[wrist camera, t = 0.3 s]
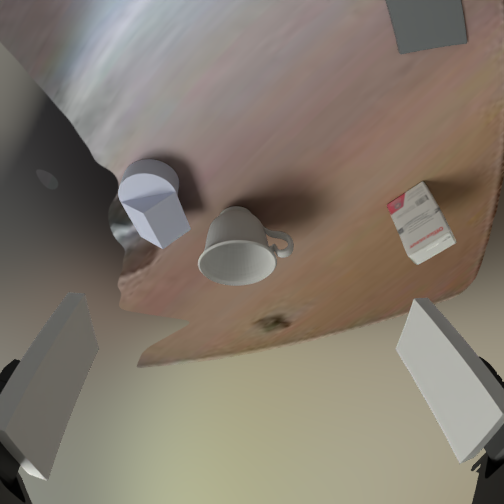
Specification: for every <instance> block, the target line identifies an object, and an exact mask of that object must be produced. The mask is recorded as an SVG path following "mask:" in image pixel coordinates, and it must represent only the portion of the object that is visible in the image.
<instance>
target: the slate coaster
mask: <svg viewBox="0 0 504 504" xmlns="http://www.w3.org/2000/svg"><path fill="white" fill-rule="evenodd" d="M386 4H387V7H388V10H389V14H390V18H391V21H392V25H393V29H394V33H395V37H396V41H397V46H398V50H399V53H400V54H405V53H410V52H415V51H420V50H426V49H432V48H438V47H444V46H451V45H458V44H466V43H467V38H466V29H465V22H464V16H463V10H462V4H461V0H386Z"/></svg>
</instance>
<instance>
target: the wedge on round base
mask: <svg viewBox="0 0 504 504" xmlns="http://www.w3.org/2000/svg"><path fill="white" fill-rule="evenodd" d="M178 189H179V179H178V176H177V174H176V172H175V171H174V170H173V169H172V168H171V167H170V166H169V165H167V164H166V163H164V162H161V161H158V160H153V159H143V160H139V161H136V162H134V163H132V164H131V165H129V166H128V167H127V169H126V170H125V172H124V175H123V178H122V181H121V184H120V187H119V190H118V196H119V199H120V201H121V203H122V205H123V207H124V209H125V210H126V212H127V214H128V216H129V217H130V219H131V221H132V222H133V224H134V226H135V227H136V229H137V231H138V233H139V234H140V236H141V237H143V238H144V239H146V240H148V241H150V242H151V243H153V244H155V245H157V246H158V247H160V248H162V249H164V248H165V247H167V246H168V245H169V244H171V243H172V242H174V241H175V240H176V239H178V238H179V237H181V236H182V235H183V234H185V233H186V232H188V231H189V230H191V228H190V226H189V223H188V221H187V219H186V216H185V214H184V211H183V209H182V206H181V204H180V201H179V199H178V196H177V195H178Z"/></svg>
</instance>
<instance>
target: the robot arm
mask: <svg viewBox="0 0 504 504" xmlns="http://www.w3.org/2000/svg"><path fill="white" fill-rule="evenodd" d="M98 350H99V347H98V343H97V340H96V336H95V333H94V329H93V325H92V321H91V317H90V313H89V309H88V304H87V300H86V296H85V294H81V293H70V292H69V293H68V294H67V295H66V297H65V298H64V299H63V301H62V302H61V303H60V305H59V306H58V307H57V309H56V310H55V311H54V313H53V314H52V315H51V317H50V318H49V320H48V321H47V323H46V324H45V325H44V327H43V328H42V330H41V331H40V333H39V334H38V335H37V337H36V338H35V340H34V341H33V343H32V344H31V346H30V347H29V349H28V350H27V352H26V353H25V355H24V356H23V358H22V360H21V361H20V360H16V359H14V360H13V361H12V362H11V363H9V364H8V365H7V366H6V367H5V368H4V369H3V370H2V372H1V373H0V504H32V502H31V500H30V498H29V495H28V493H27V491H26V488H25V485H24V483H23V480H22V478H21V476H20V475H19V473H18V470H19V467H20V466H21V467H22V468H23V469H24V470H25V471H26V472H27V473H28V474H30V475H33V476H36V477H38V478H41V479H44V480H47V481H48V479H49V475H50V472H51V469H52V466H53V463H54V460H55V457H56V454H57V451H58V449H59V446H60V443H61V440H62V437H63V435H64V432H65V429H66V426H67V423H68V421H69V419H70V416H71V413H72V411H73V408H74V406H75V403H76V400H77V398H78V396H79V394H80V391H81V389H82V386H83V384H84V381H85V379H86V377H87V375H88V372H89V370H90V368H91V365H92V363H93V361H94V359H95V356H96V354H97V352H98ZM396 351H397V352H398V354H399V356H400V357H401V359H402V361H403V362H404V364H405V366H406V367H407V369H408V370H409V372H410V374H411V376H412V377H413V379H414V381H415V382H416V384H417V386H418V388H419V389H420V391H421V393H422V395H423V396H424V398H425V400H426V402H427V403H428V405H429V407H430V409H431V411H432V412H433V414H434V416H435V418H436V420H437V421H438V423H439V425H440V427H441V429H442V431H443V432H444V434H445V436H446V438H447V440H448V442H449V444H450V445H451V447H452V450H453V452H454V453H455V455H456V457H457V459H458V461H459V463H460V464H461V463H463V462H465V461H467V460H470V459H472V458H474V457H475V456H476V455H477V454H478V453H479V452H480V450H482V449H483V448H484V449H485V450H486V453H485V454H484V455H483V456H482V457H481V458H480V459H479V460H478V461H477V462H476V463H475V464H474V465H473V466H472V469H471V471H474V470H475V469H476V468H477V467H478V466H479V465H480V464H481V466H480V468H479V469H478V470H477V471H476V472H478V473H479V476H478V481H477V485H476V490H475V494H474V498H473V502H472V504H504V382H502V379H501V377H500V376H499V375H497V372H496V371H495V370H494V368H493V367H492V366H491V365H490V364H489V363H488V362H487V361H485V360H484V359H483V358H481V357H478V356H477V354H476V353H475V352H474V351H473V349H472V348H471V347H470V346H469V344H468V343H467V342H466V341H465V340H464V339H463V337H462V336H461V335H460V334H459V333H458V331H457V330H456V329H455V328H454V327H453V326H452V325H451V323H450V322H449V321H448V320H447V319H446V318H445V317H444V315H443V314H442V313H441V312H440V311H439V310H438V309H437V308H436V306H435V305H434V304H433V303H432V302H431V301H430V300H429V299H428V298H416V299H414V300H413V303H412V306H411V309H410V312H409V315H408V318H407V320H406V323H405V326H404V329H403V331H402V334H401V337H400V339H399V342H398V344H397V347H396Z"/></svg>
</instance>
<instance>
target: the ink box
mask: <svg viewBox="0 0 504 504" xmlns="http://www.w3.org/2000/svg"><path fill="white" fill-rule="evenodd" d="M387 208H388V210H389V212H390V214H391V217H392V219H393V221H394V223H395V226H396V228H397V231H398V233H399V235H400V238H401V240H402V243H403V245H404V248H405V250H406V253H407V255H408V256H409V258H410V259H411V260H412V261H413V262H414V263H415V264H417V265H419V264H420V263H422V262H424V261H426V260H427V259H429V258H431V257H433V256H434V255H436V254H438V253H440V252H441V251H443V250H445V249H446V248H448V247H450V246H451V245H453V244H455V243H456V240H455V237H454V235H453V233H452V231H451V229H450V227H449V225H448V223H447V221H446V219H445V217H444V215H443V213H442V212H441V210H440V208H439V206H438V204H437V202H436V201H435V199H434V197H433V196H432V194H431V192H430V191H429V189H428V187H427V186H426V184H425V183H424V181H422V182H420V183H419V184H417V185H416V186H414V187H413V188H411V189H410V190H408V191H407V192H405V193H404V194H402V195H401V196H399V197H398V198H396V199H395V200H393V201H392V202H390V203H389V204H387Z"/></svg>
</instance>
